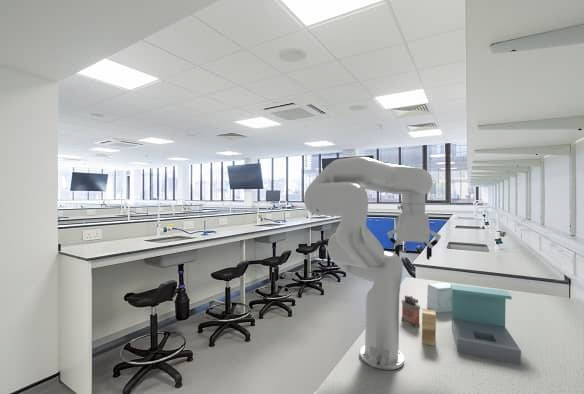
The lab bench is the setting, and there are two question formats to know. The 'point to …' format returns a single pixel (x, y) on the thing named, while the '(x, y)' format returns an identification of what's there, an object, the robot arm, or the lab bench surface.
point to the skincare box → (439, 297)
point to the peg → (429, 327)
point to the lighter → (410, 311)
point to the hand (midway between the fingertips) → (412, 257)
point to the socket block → (482, 323)
